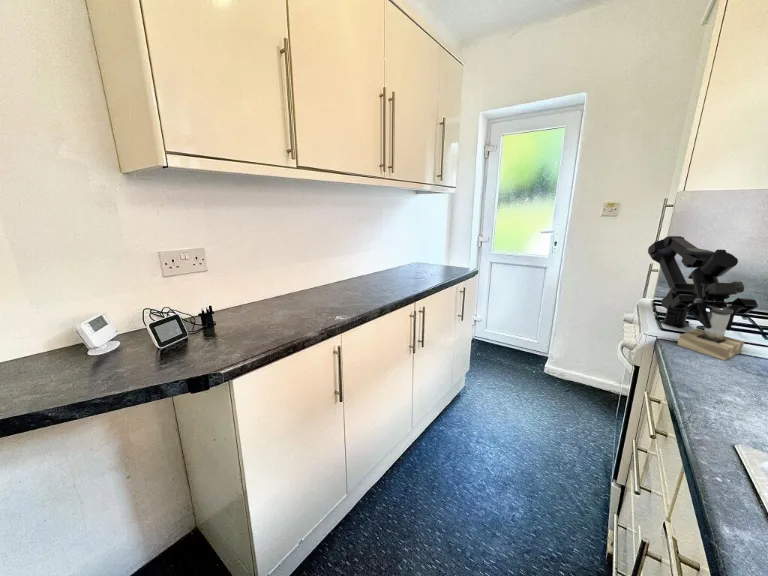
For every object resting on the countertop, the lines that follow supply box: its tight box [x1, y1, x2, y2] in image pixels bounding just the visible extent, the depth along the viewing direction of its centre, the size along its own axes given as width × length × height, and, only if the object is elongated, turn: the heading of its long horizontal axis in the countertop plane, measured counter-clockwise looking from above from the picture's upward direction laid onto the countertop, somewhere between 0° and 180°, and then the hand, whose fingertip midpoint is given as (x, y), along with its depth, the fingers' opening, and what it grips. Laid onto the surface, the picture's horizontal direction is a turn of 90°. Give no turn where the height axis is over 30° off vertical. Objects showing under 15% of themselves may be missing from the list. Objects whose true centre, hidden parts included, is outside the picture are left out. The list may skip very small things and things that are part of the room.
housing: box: [676, 328, 745, 361], centre depth 97 cm, size 11×11×4 cm
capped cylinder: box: [702, 305, 734, 343], centre depth 96 cm, size 5×5×13 cm
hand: (718, 329), depth 94 cm, fingers closed on capped cylinder, 4 cm apart
